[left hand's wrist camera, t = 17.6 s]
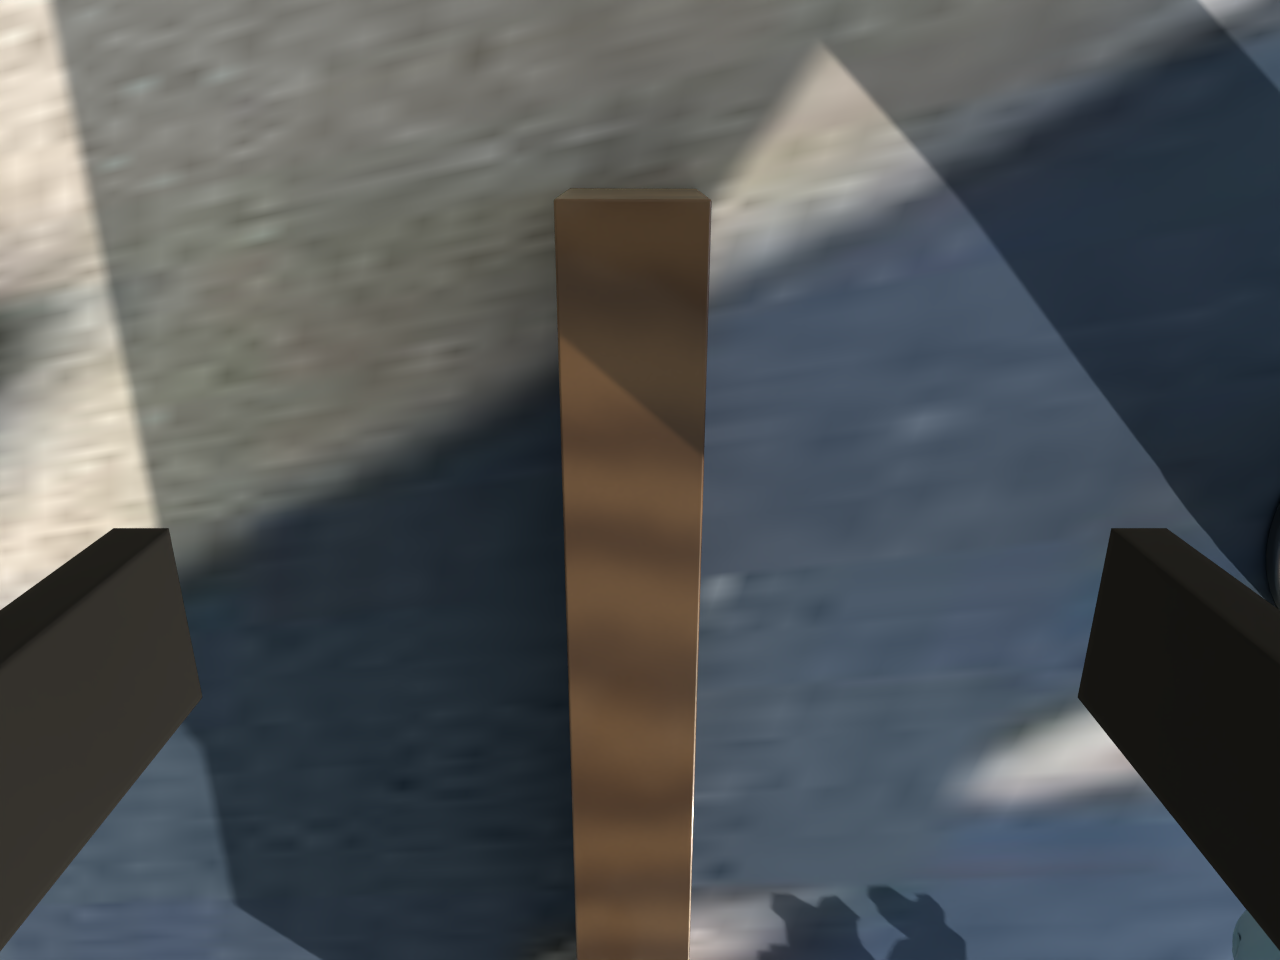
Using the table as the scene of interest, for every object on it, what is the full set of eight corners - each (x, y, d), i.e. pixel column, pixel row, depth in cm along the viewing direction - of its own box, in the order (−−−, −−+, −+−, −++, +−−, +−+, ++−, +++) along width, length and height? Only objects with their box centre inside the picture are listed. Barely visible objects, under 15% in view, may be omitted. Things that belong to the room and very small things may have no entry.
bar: (568, 188, 39) (553, 199, 32) (697, 188, 39) (711, 199, 32) (591, 1129, 60) (585, 1264, 53) (674, 1128, 60) (680, 1264, 53)
